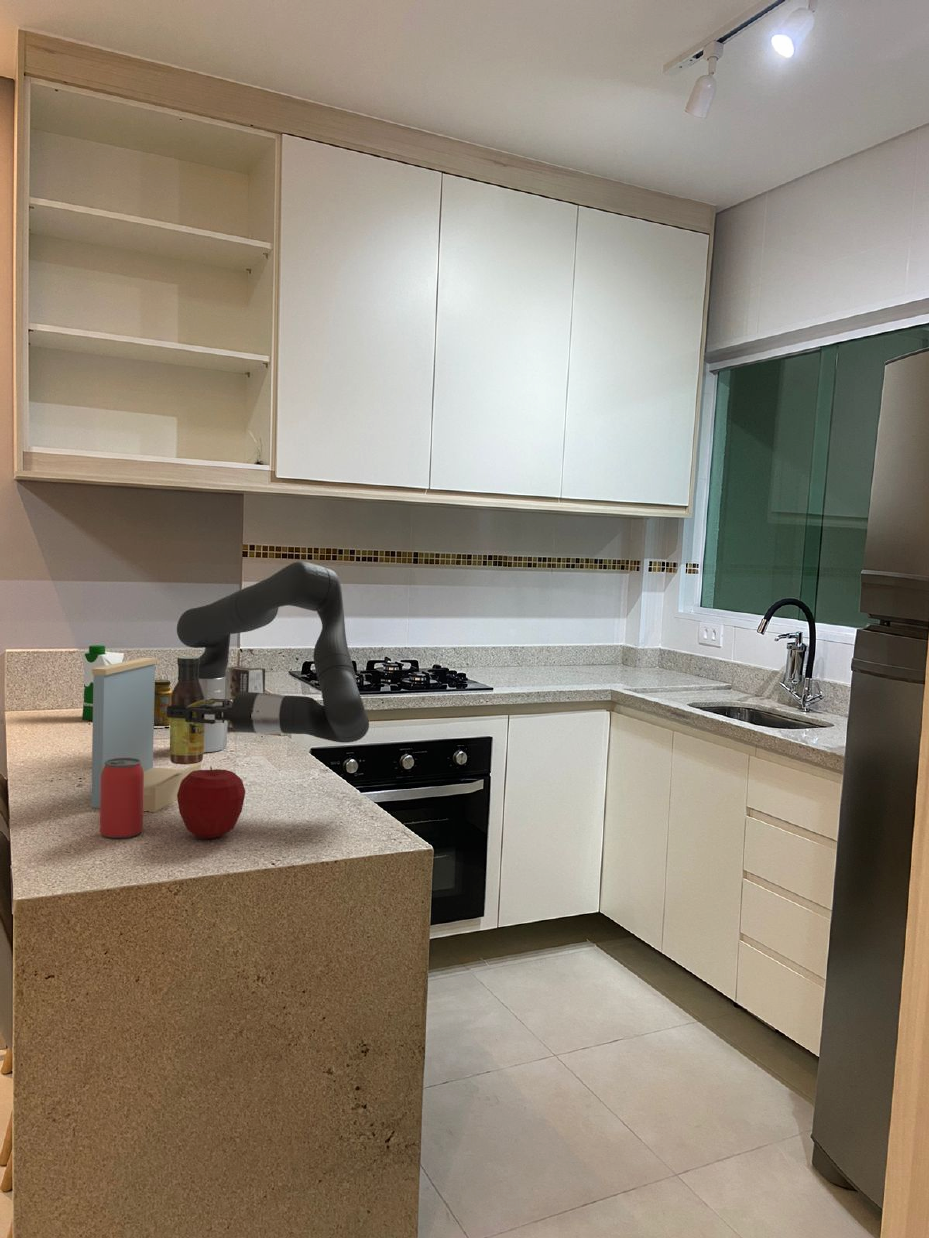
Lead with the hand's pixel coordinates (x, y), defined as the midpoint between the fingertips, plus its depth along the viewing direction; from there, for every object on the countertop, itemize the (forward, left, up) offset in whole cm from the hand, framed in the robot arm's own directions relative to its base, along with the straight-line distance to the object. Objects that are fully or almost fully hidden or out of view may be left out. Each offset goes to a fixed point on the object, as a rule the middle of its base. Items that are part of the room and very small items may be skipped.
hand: (175, 708), depth 174 cm
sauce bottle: (-1, +2, -10) cm, 11 cm away
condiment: (-45, -58, -17) cm, 76 cm away
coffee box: (-59, -41, -17) cm, 74 cm away
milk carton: (-41, -76, -17) cm, 88 cm away
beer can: (+21, +12, -17) cm, 29 cm away
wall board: (+3, -4, -17) cm, 17 cm away
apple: (+13, +24, -17) cm, 32 cm away
